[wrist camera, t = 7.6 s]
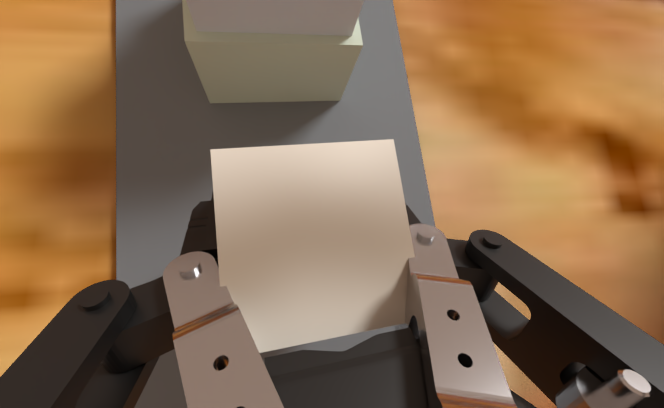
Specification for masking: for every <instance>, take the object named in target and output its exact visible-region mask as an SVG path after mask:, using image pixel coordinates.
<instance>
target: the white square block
mask: <svg viewBox="0 0 664 408" xmlns="http://www.w3.org/2000/svg"><path fill="white" fill-rule="evenodd" d="M186 2H187V5H188V8H189V11H190V14H191V16H192V19H193V22H194V25H195V28H196V31H204V32H237V33H271V34H304V35H337V36H352V34H353V31H354V28H355V25H356V22H357V19H358V16H359V14H360V11H361V8H362V5H363V2H364V0H186Z"/></svg>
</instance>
